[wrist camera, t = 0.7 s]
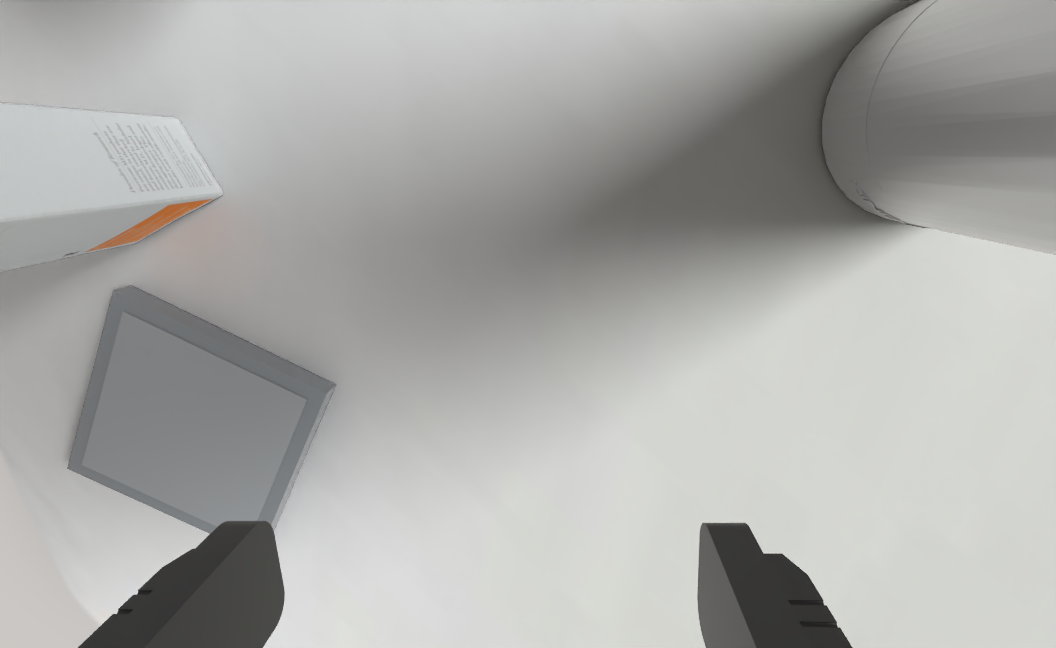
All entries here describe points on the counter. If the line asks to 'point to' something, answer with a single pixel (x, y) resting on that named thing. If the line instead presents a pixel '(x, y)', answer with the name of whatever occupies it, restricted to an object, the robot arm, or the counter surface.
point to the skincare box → (91, 180)
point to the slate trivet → (194, 416)
